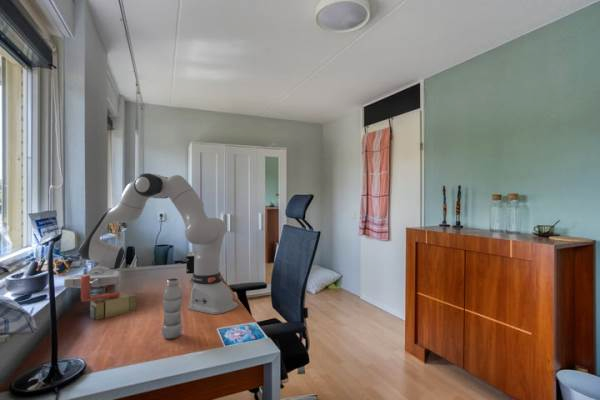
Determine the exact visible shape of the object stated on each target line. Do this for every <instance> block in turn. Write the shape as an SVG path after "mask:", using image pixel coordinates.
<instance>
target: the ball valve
mask: <svg viewBox="0 0 600 400" xmlns="http://www.w3.org/2000/svg"><path fill="white" fill-rule="evenodd" d="M196 252H197V251H196V250H193V251H189V252H188V253H187V256H186V270H185V271H186V274H187V275H189V274H190V276H189V282H190V283H191V284H194V282H193V273H194V257H195V254H196Z"/></svg>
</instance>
